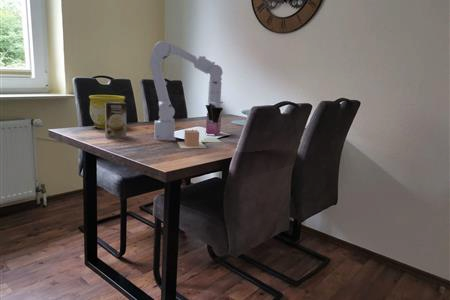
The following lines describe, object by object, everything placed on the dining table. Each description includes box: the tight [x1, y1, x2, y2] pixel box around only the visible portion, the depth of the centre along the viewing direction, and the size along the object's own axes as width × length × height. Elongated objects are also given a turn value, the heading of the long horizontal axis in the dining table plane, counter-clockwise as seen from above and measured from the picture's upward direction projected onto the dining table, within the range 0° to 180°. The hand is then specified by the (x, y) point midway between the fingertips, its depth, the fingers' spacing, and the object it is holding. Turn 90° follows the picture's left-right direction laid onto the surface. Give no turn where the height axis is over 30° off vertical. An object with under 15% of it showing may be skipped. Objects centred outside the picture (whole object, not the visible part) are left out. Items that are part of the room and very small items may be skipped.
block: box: [183, 129, 200, 146], centre depth 149 cm, size 6×6×6 cm
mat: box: [200, 137, 222, 143], centre depth 162 cm, size 9×9×1 cm
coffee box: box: [104, 101, 127, 139], centre depth 158 cm, size 9×6×16 cm
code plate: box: [177, 141, 207, 149], centre depth 150 cm, size 11×12×1 cm
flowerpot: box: [88, 94, 126, 130], centre depth 181 cm, size 18×18×16 cm
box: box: [205, 112, 222, 136], centre depth 179 cm, size 10×6×12 cm, turn 168°
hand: (213, 121), depth 159 cm, fingers open, 7 cm apart
